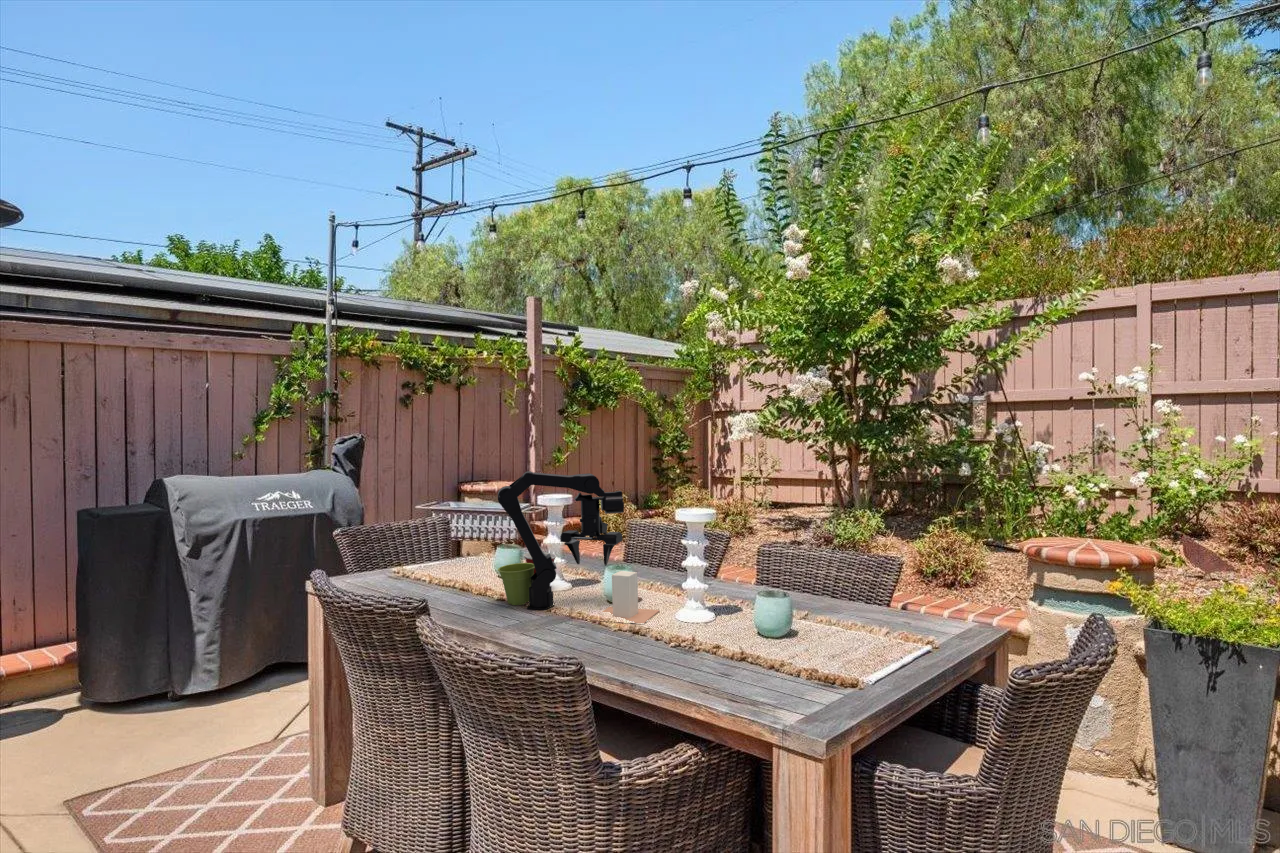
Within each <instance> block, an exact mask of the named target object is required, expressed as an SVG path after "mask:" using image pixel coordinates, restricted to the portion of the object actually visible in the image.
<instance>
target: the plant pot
mask: <svg viewBox="0 0 1280 853" xmlns="http://www.w3.org/2000/svg"><path fill="white" fill-rule="evenodd" d="M534 568H535V567H534V564H532V563H526V562H517V563H516V562H515V563H510V564H505V565H503V566H500V567H498V568H497V571H498V572H499V575H500V578H501V580H502V584H503V588H504V592H505V597H506V600H507V603H508V605H512V606H522V605H525V604H526V602H528V601H529V587H531V582H530V578H531V577H532V576H533V574H534Z"/></svg>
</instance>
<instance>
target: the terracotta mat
mask: <svg viewBox="0 0 1280 853" xmlns="http://www.w3.org/2000/svg"><path fill="white" fill-rule="evenodd" d="M601 612H610V613H611V614H613V606H608V607H606V608H605V609H604V610H602V611H601ZM660 612H661V611H660V609H651V608H650V609H647V608H638V614H636V615H634V616H633V617H631V618H625V619H626V620H629V621H634V622H635V623H645V622H646V621H647V620H649V619H650V618H651V619H652V618H654V617H655V616H656V615H657V614H658V613H660ZM654 615H655V616H654ZM653 616H654V617H653ZM593 618H594V617H592V618H591V619H590V621H591V622H599V621H598V620H597V619H593ZM621 618H624V617H621ZM651 619H650V620H651ZM650 620H649V621H650ZM646 623H647V622H646ZM646 623H645V624H646Z"/></svg>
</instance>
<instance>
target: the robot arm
mask: <svg viewBox="0 0 1280 853" xmlns="http://www.w3.org/2000/svg"><path fill="white" fill-rule="evenodd" d="M531 486H538V487H539V486H542V487H552V488H553V487H555V488H565V489H567V488H568V489H572V490H574V491H578V494H577V495H576V496H575V497H574V498H573V500H575V502H580V514H581V515H580V517H581V518H579V523H580V524H581V525H580V526H581V531H580V532H579V530H570V529H569V530H565V531H563V532H561V534H560V536H559V540H560V543H563V544H564V545H565V546H567V548H568V549H569V551H570V552H571V554H572V557H573V559H574V560H575V562H576V564H577V565H580V564H581V562H580V561H581V557H580V556H581V555H580V543H581V541H582V540H584V541H603V542H604V544H602V552H603V554H602V555H603V563H604V564H603V565H604V566H607V565H608V563H609V559H610V556H611V553H612V550H613V549H614V547H615V546H616V545H618V544H619V543H620V542H623V534H622V532H620V531H609V532H608V526H609V525H608V523H606V522H605V521H603V520H602V516H601V515H600V514H601V511H604V514H605V515H608V514H623V513H624V511H625V501H624V496H623V491H622V490H616V491H606V492H605V490H604V489H603V488H602V487H601V485H600V480H599V478H598V477H597V476H596V475H594V474H593V473H590V472H588V473H576V474H570V475H569V474H566V475H565V474H555V473H543V472H533V471H531V470H530V471H529V470H528V471H526V472H524V473H523V474H522V475H520V477H518V478H517V479H515V480H514V481H513V482H512V483H511V484H509V485H505V486H502V487H501V488H500V489H499V490H498V492H497V501H498V503H499V505H500V506H501V507H502V509H503V510H504V511H505V513H507V515H508V516H509V517H510V519H511V520H512V523H513V524H514V526H515V528H516V529H517V532H518V534H519V536H520V537H521V540H522V541H523V543H524V545H525V547H526V550H527V552H528V553H530V555H531V557H532V560H533V563H534V567H535V570H536V572H535V573H534V574H533V576H532V577H531V578H530V582H531V587H529V603H528V604H529V605H528V606H526V609H527V610H541V611H546V610H548V609H549V608H548V607H550V606H552V605H553V603H554V604H555V602H554V591H553V590H552V586H551V583H553V582H554V581H555V579H556V577H557V568H558V567H557V565H556V563H555V561H554V562H553V561H552V559H551V555H550V553H551V552H548V553H549V554H548V555H545V554H544V553H545V552H544V551H543V550H542V548H541V546H540V544H539V542H538V541H537V539H536V537H535V534H534V533H533V531H532V529H531V526H530V524H529V522H528V521H527V519H526V517H525V515H524V513H523V511H522V510H523V509H522V507H521V504H520V501H519V497H520V496H521V495H522V494H523V493H524V492H525V491H526V490H527V489H528V488H530V487H531ZM582 493H585V494H582ZM593 494H594V495H596V497H595V496H594V497H593ZM600 509H601V511H600ZM543 552H544V553H543ZM553 606H554V605H553ZM553 606H552V607H553ZM547 608H548V609H547ZM550 608H551V607H550Z"/></svg>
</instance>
